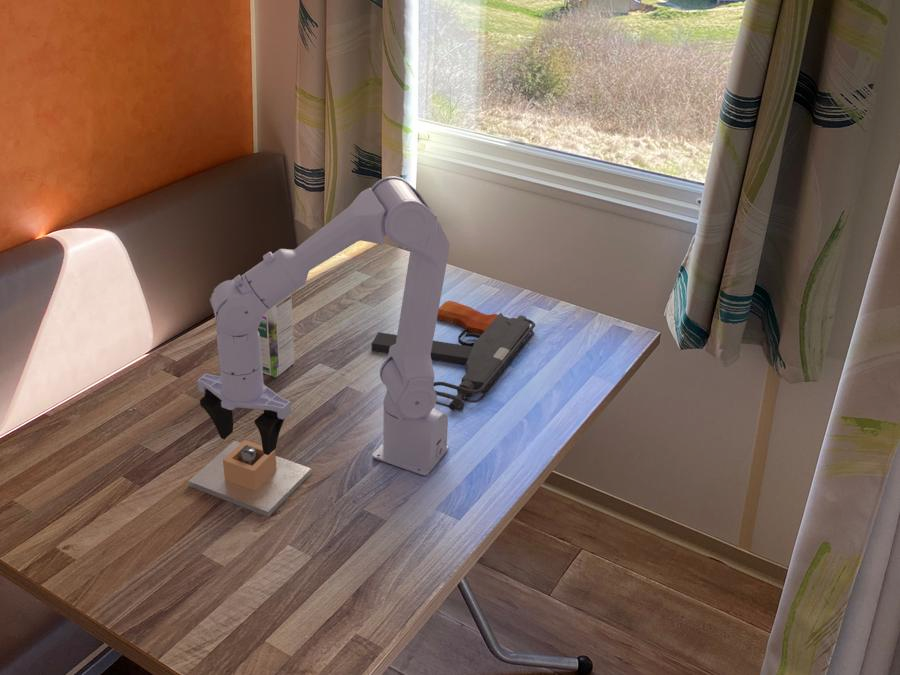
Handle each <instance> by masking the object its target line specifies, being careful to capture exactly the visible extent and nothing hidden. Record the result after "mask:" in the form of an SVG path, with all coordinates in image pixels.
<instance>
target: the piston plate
mask: <svg viewBox="0 0 900 675" xmlns="http://www.w3.org/2000/svg"><path fill="white" fill-rule="evenodd" d="M241 443H242V442H239V441H237V440H233V441H232V442H231V443H230V444H229V445H227V447H226V448H224V449H223V450H221V451H220V453H218V454H217V455H216V456H215V457H214V458H212V460H210V461H209V462H208V463H207V464H206V465H204V466H203V467H202V468H201V469H200V470H199V471H198V472H197V473H196V474H195V475H193V476H192V477H191V478H189V480H188V487H190V488H193V489H195V490H198V491H201V492H203V493H205V494H208V495H211V496H213V497H215V498H218V499H221V500H223V501H226V502H228V503H231V504H234V505H236V506H238V507H241V508H243V509H246V510H249V511H251V512H254V513H256V514H259V515H261V516H264V517H267V518H269V517H270V516H271V515H272V514H273V513H274V512H275V511H276V510H277V509H278V508H280V506H281V505H283V503H284V502H285V501H286V500H287V499H288V498H289V497H290V496H291V495H292V494H293V493H295V491H296V490H297V489H298V488H299V487H300V486H301V485H302V484H303V483H304V482H305V481H306V480H307V479H308V478H309V477H310V475H312V468H311V467H309V466H307V465H306V466H305V465H303V464H299V463H297V462H294V461H292V460H289V459H286V458H283V457H280V456H278V455H276V468H277V470H276V471H275V472H274V473H273V474H272V475H271V476H270V477H269V478H268V479H267V480H266V481H265V482H264V483H263V484H262V485H261V486H260V487H259V488H258V489H257V490H256V491H255V490H253V489H250V488H247V487H244V486H241V485H239V484H236V483H233V482H230V481H228V480H225V477H224V467H223V459H224V458H226V457H227V456H228V455H229V454H230V453H231V452H232V451H233V450H234V449H235V448H236V447H238V446H239V445H240V444H241ZM241 453H242V462H243V463H246V464H249V465H252V466H253V465H254V464H255V463H256V452H255V448H254V447H252V446H246V447H244V448H243V449H242V450H241Z"/></svg>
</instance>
